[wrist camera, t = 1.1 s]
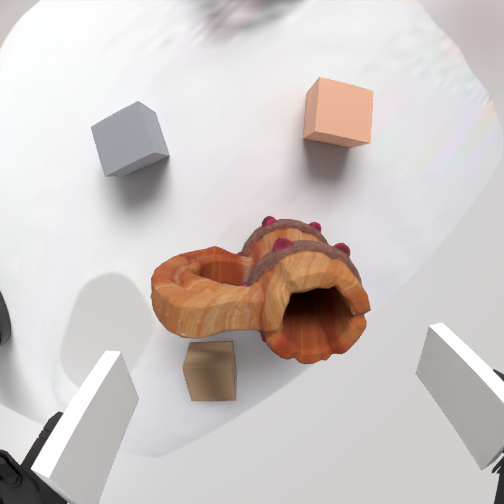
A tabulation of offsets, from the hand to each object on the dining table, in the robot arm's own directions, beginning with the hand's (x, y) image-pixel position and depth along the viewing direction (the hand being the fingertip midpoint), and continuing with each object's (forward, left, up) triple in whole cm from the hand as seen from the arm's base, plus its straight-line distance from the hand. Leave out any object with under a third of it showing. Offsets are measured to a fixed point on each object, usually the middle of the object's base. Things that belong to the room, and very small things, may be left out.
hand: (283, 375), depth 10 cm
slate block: (-11, +12, -19) cm, 25 cm away
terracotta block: (+8, +13, -19) cm, 24 cm away
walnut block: (-6, -13, -19) cm, 24 cm away
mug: (0, 0, -19) cm, 19 cm away
